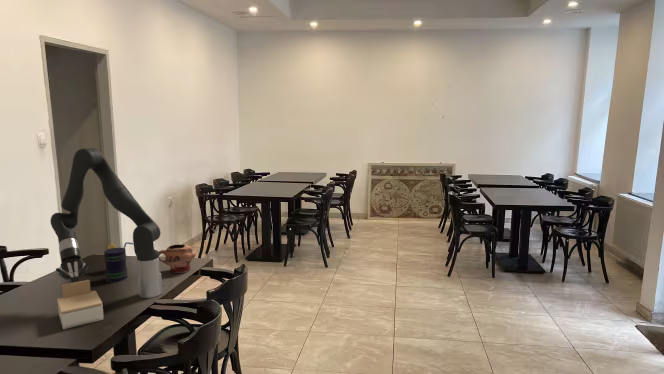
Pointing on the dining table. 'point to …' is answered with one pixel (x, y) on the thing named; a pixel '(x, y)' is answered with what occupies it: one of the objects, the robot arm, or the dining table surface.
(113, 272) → the storage jar
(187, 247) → the decorative planter
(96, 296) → the lid
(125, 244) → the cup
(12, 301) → the dining table surface
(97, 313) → the base
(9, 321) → the dining table surface
